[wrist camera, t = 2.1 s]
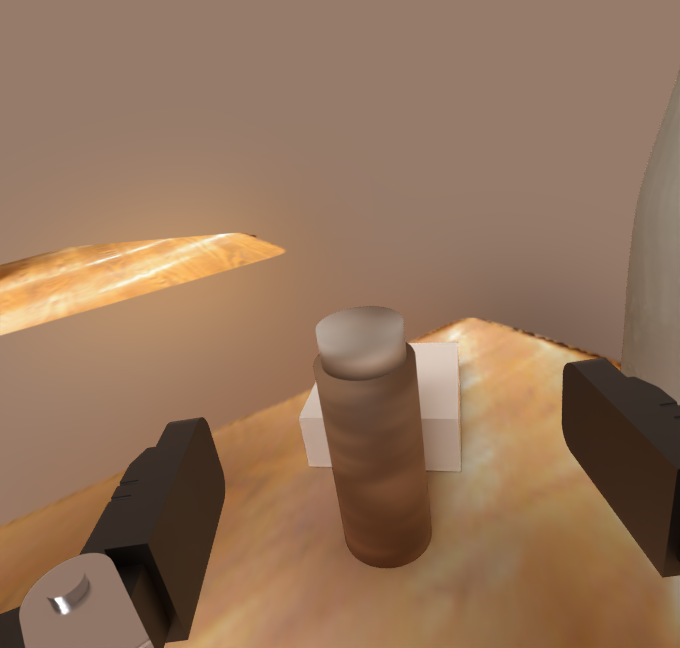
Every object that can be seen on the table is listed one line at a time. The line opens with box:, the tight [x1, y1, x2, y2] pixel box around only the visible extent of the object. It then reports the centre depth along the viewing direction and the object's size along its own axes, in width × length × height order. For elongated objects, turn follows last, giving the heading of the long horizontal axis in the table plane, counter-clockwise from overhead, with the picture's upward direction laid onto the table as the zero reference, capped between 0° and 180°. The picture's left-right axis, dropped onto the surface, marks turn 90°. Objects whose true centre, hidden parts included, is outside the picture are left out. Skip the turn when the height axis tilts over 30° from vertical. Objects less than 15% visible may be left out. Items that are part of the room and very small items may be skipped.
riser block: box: [299, 342, 461, 472], centre depth 36 cm, size 10×10×4 cm
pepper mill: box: [313, 306, 431, 568], centre depth 25 cm, size 5×5×13 cm
